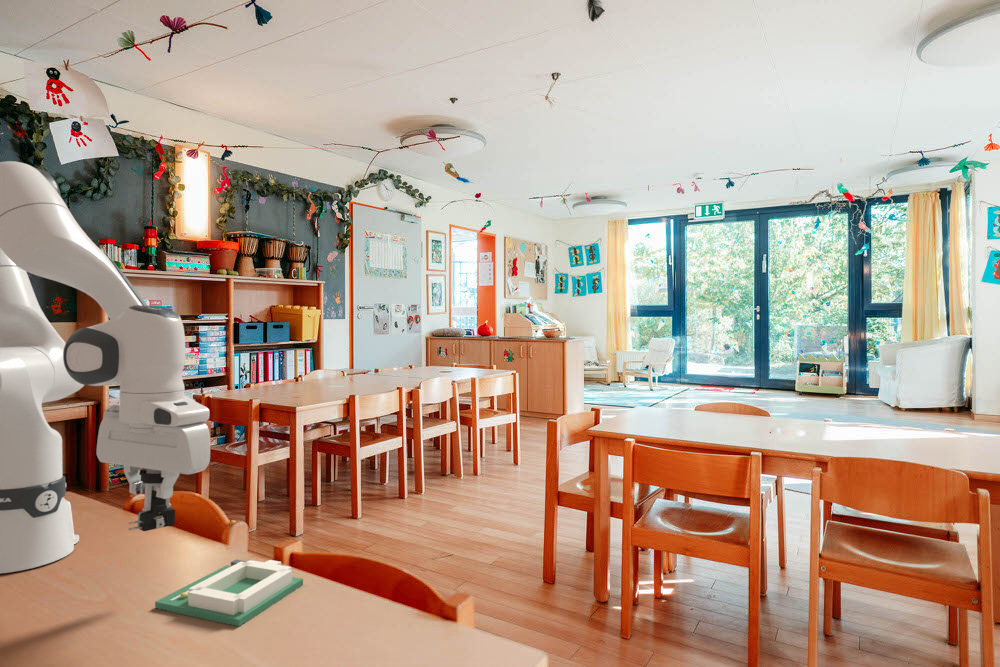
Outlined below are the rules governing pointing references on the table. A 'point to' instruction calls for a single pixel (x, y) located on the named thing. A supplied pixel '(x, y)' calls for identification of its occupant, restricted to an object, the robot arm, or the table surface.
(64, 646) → the table surface
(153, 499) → the push button
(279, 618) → the table surface
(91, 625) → the table surface
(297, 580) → the board
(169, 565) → the table surface
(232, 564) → the lead
